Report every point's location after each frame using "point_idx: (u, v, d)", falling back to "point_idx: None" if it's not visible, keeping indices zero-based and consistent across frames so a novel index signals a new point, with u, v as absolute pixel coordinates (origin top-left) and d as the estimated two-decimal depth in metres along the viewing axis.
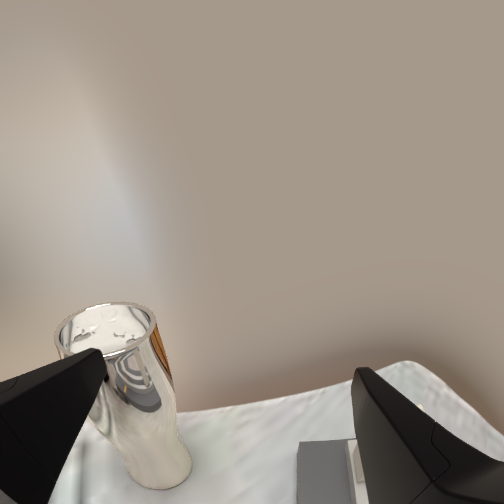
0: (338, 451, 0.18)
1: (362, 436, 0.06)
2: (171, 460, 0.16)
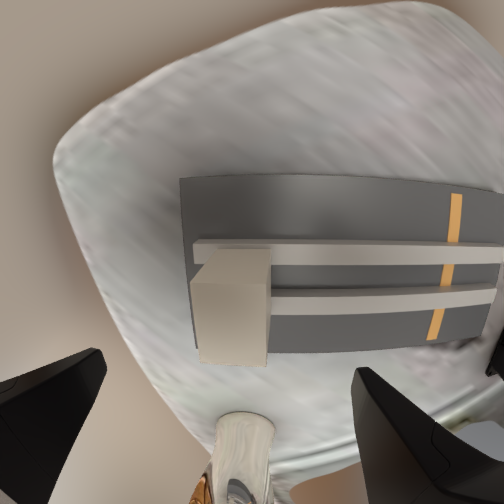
0: None
1: (362, 436, 0.06)
2: (252, 442, 0.20)
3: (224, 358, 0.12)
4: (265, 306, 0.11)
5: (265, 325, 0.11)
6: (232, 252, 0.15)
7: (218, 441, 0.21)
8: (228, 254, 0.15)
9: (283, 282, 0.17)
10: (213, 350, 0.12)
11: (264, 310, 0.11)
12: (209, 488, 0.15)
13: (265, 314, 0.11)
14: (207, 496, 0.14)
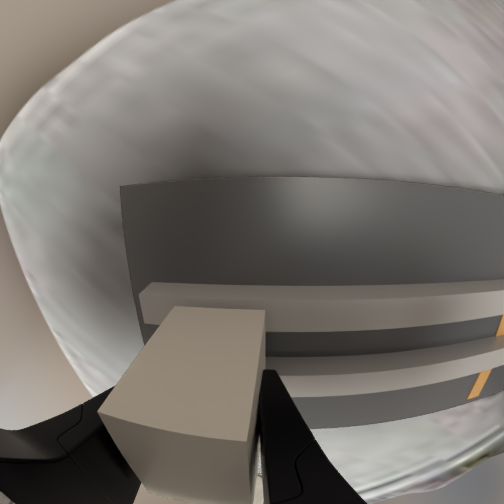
0: None
1: (260, 440, 0.06)
2: None
3: (183, 497, 0.05)
4: (247, 463, 0.04)
5: (248, 481, 0.04)
6: (197, 317, 0.08)
7: None
8: (189, 323, 0.08)
9: (285, 348, 0.11)
10: (164, 488, 0.05)
11: (244, 469, 0.04)
12: None
13: (247, 470, 0.04)
14: None
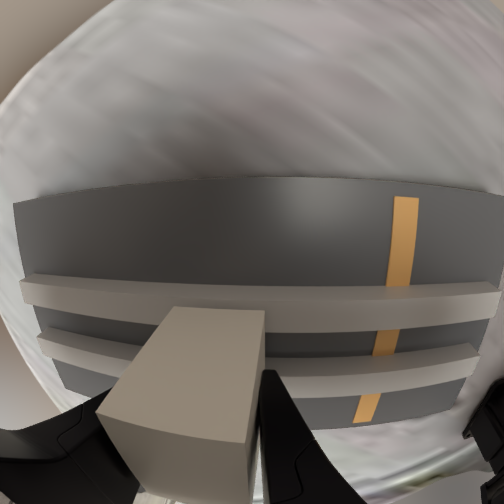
0: None
1: (260, 440, 0.06)
2: None
3: (182, 498, 0.05)
4: (245, 464, 0.04)
5: (247, 482, 0.04)
6: (196, 318, 0.08)
7: None
8: (188, 324, 0.08)
9: (117, 334, 0.12)
10: (163, 489, 0.05)
11: (243, 470, 0.04)
12: None
13: (246, 472, 0.04)
14: None
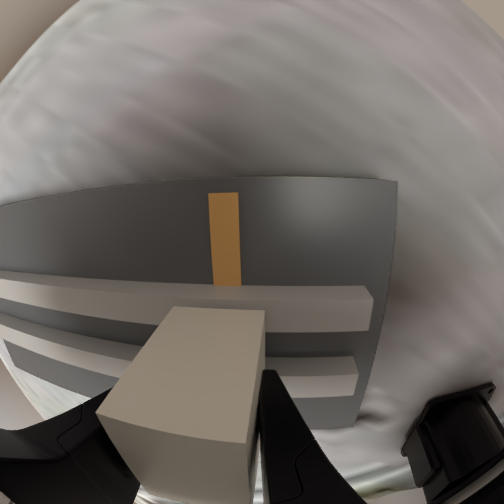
0: None
1: (260, 440, 0.06)
2: None
3: (182, 499, 0.05)
4: (246, 464, 0.04)
5: (247, 482, 0.04)
6: (196, 318, 0.08)
7: None
8: (188, 324, 0.08)
9: (35, 317, 0.12)
10: (163, 490, 0.05)
11: (243, 470, 0.04)
12: None
13: (247, 472, 0.04)
14: None
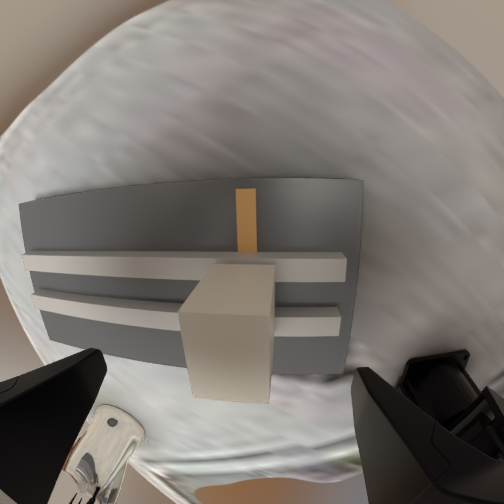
0: None
1: (362, 436, 0.06)
2: (109, 433, 0.20)
3: (220, 394, 0.10)
4: (268, 340, 0.09)
5: (268, 360, 0.09)
6: (230, 269, 0.13)
7: (88, 427, 0.21)
8: (225, 271, 0.13)
9: (82, 288, 0.17)
10: (208, 385, 0.10)
11: (267, 344, 0.09)
12: None
13: (268, 348, 0.09)
14: None
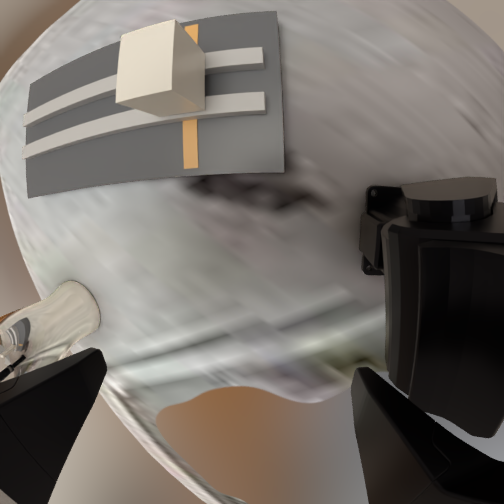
0: (33, 163, 0.19)
1: (362, 436, 0.06)
2: (60, 300, 0.21)
3: (135, 90, 0.10)
4: (174, 35, 0.10)
5: (172, 49, 0.10)
6: None
7: None
8: None
9: (64, 128, 0.18)
10: (128, 84, 0.10)
11: (172, 36, 0.09)
12: None
13: (173, 41, 0.10)
14: None
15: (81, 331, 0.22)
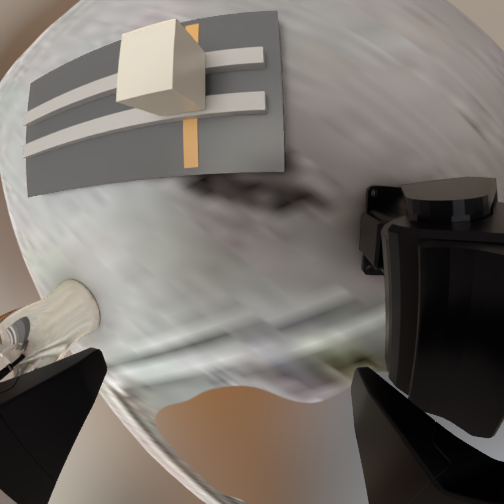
0: (33, 162, 0.19)
1: (362, 436, 0.06)
2: (59, 299, 0.21)
3: (136, 89, 0.10)
4: (174, 34, 0.10)
5: (173, 48, 0.10)
6: None
7: None
8: None
9: (64, 127, 0.18)
10: (128, 83, 0.10)
11: (172, 36, 0.09)
12: None
13: (174, 40, 0.10)
14: None
15: (81, 330, 0.22)
